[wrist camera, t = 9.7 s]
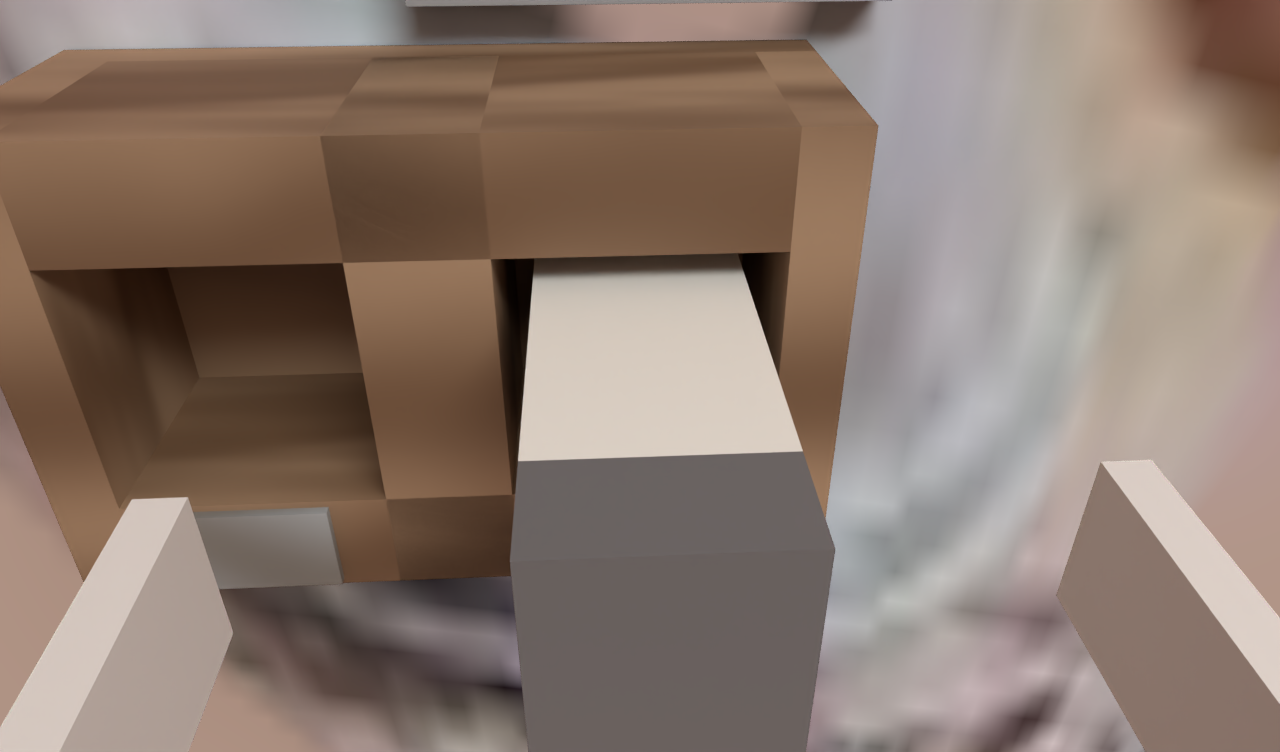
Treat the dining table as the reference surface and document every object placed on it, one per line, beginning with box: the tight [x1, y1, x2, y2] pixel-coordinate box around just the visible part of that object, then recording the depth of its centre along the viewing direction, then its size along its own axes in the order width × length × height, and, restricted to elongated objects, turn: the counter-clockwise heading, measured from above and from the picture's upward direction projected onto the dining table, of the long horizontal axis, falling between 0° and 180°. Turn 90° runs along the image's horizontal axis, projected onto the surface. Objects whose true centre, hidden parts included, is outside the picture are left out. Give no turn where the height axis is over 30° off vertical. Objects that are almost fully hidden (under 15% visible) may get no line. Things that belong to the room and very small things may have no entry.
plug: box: [510, 253, 835, 752], centre depth 18 cm, size 4×4×12 cm
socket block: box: [0, 40, 878, 589], centre depth 21 cm, size 10×16×6 cm, turn 90°
